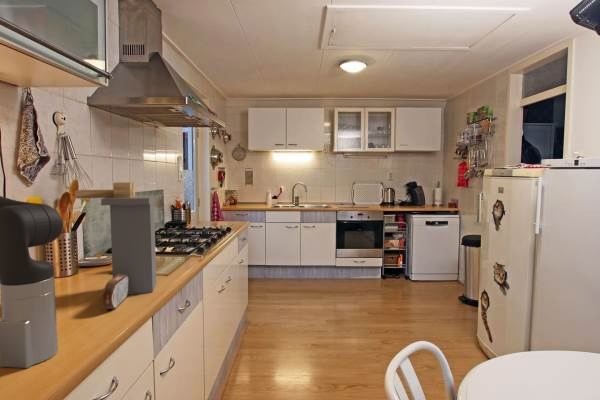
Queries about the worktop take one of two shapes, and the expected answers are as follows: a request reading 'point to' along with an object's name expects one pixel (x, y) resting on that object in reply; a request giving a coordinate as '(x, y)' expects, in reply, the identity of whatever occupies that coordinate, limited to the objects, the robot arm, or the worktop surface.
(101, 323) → the worktop surface
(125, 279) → the tin
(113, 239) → the stand
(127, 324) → the worktop surface
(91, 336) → the worktop surface
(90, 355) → the worktop surface
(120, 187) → the brown wooden block
